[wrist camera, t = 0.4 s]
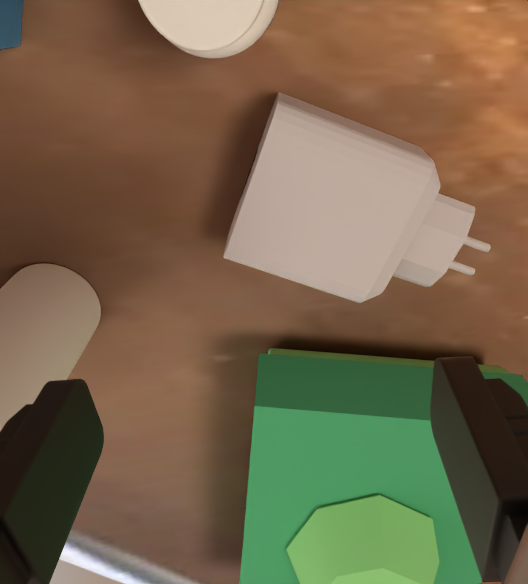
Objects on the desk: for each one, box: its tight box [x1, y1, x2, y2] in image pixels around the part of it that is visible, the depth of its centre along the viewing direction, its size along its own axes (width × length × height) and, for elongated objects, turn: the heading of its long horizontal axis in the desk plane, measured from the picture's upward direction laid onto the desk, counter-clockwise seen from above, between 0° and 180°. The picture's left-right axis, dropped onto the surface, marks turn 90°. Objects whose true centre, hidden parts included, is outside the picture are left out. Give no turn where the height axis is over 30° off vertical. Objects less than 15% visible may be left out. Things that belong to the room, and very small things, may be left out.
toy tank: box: [240, 348, 528, 584], centre depth 40 cm, size 18×12×35 cm
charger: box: [223, 92, 490, 303], centre depth 29 cm, size 5×9×15 cm
